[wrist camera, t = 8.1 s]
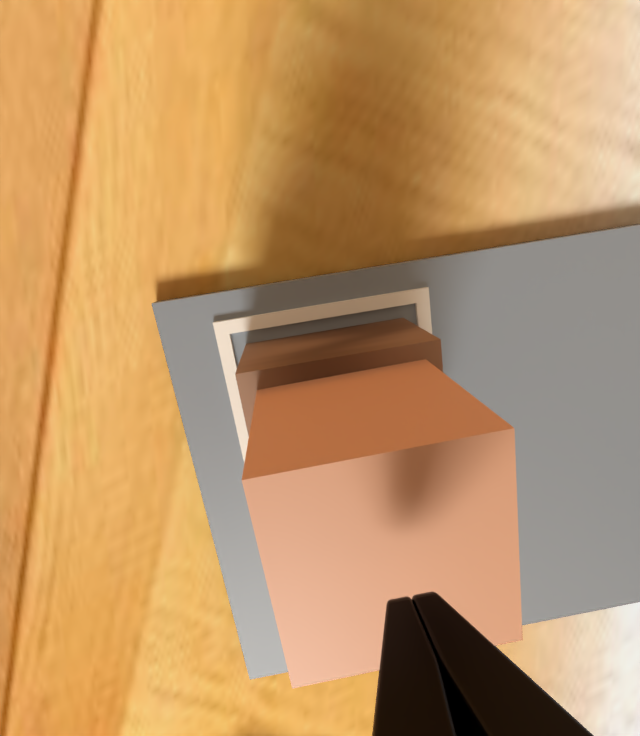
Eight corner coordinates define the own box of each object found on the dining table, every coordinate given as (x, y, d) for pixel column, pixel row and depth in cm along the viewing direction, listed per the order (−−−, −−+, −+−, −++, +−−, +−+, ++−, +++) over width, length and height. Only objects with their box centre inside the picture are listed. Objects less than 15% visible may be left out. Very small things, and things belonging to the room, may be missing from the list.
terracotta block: (425, 358, 13) (514, 428, 8) (439, 505, 14) (522, 640, 9) (256, 390, 12) (241, 479, 8) (288, 535, 14) (292, 688, 9)
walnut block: (403, 317, 16) (440, 339, 12) (416, 458, 18) (453, 515, 14) (245, 343, 16) (235, 373, 12) (274, 484, 18) (272, 549, 14)
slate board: (718, 211, 17) (739, 209, 16) (679, 582, 22) (694, 595, 21) (156, 301, 16) (150, 304, 15) (250, 667, 21) (249, 683, 20)
